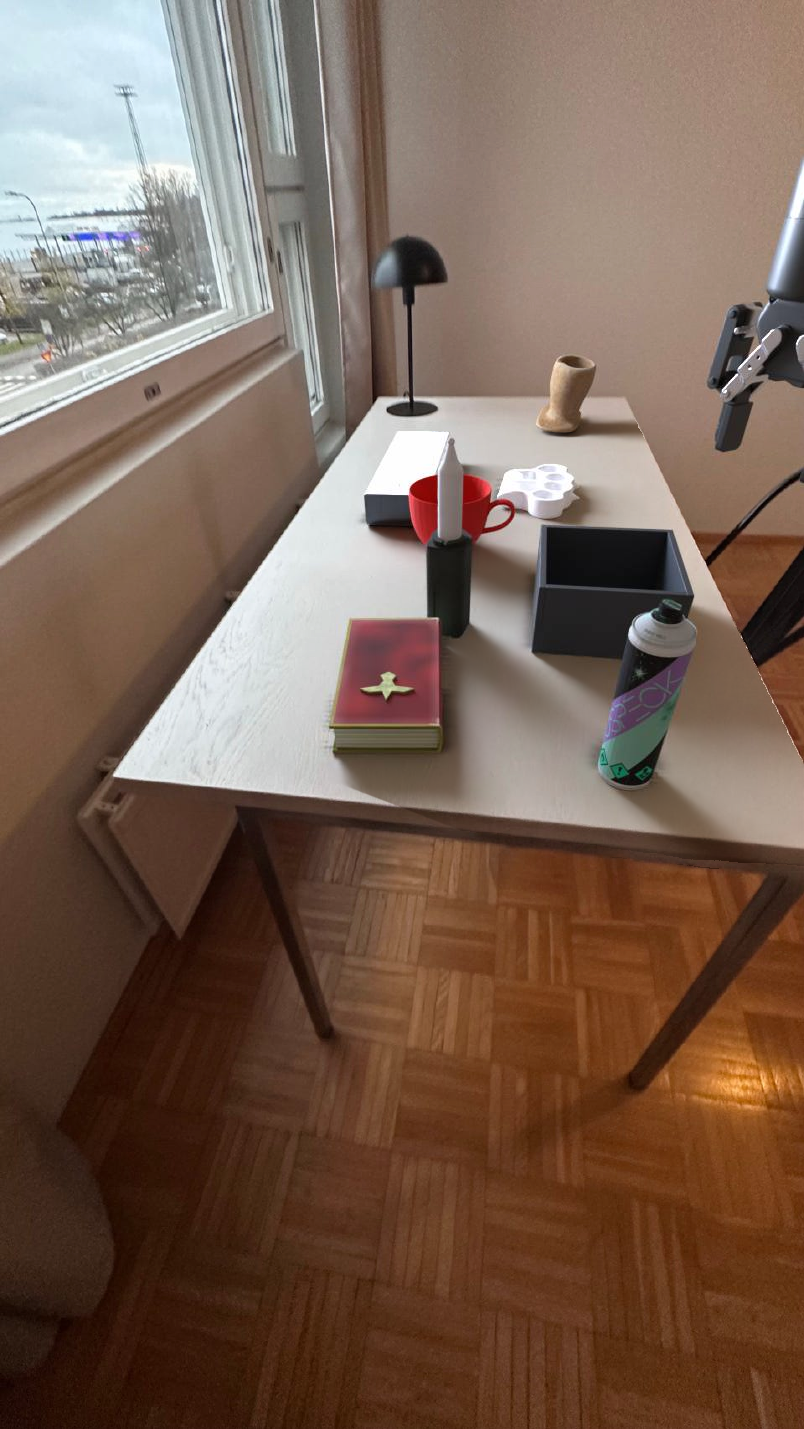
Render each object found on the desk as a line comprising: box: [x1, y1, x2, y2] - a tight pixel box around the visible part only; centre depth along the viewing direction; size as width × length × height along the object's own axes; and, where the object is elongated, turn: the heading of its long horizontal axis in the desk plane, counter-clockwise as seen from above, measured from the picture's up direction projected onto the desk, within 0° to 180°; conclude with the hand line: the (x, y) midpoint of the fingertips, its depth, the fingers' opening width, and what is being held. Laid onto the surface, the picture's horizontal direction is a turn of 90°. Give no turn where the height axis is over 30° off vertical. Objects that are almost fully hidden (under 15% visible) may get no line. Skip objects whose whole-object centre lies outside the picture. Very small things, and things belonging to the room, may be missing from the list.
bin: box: [531, 524, 695, 660], centre depth 84 cm, size 18×18×10 cm
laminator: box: [363, 430, 451, 527], centre depth 122 cm, size 34×12×6 cm, turn 171°
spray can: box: [597, 598, 698, 791], centre depth 59 cm, size 6×6×20 cm
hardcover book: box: [328, 617, 444, 754], centre depth 75 cm, size 12×21×4 cm, turn 178°
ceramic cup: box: [409, 473, 516, 547], centre depth 101 cm, size 13×17×10 cm
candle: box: [425, 437, 474, 639], centre depth 79 cm, size 5×5×25 cm
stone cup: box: [535, 353, 597, 433], centre depth 146 cm, size 15×12×15 cm
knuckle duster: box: [496, 463, 582, 520], centre depth 118 cm, size 3×18×15 cm
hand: (766, 465), depth 51 cm, fingers open, 8 cm apart
